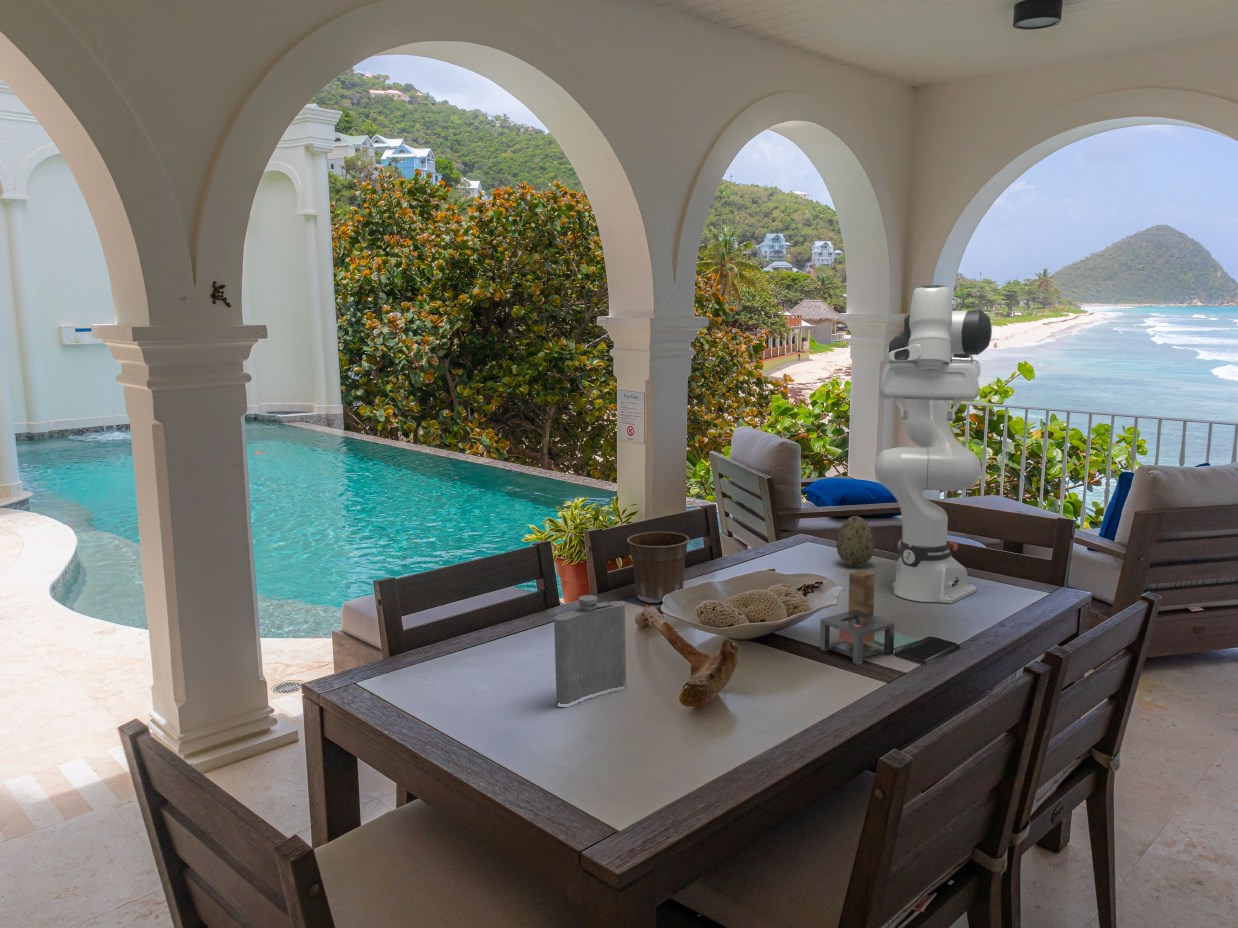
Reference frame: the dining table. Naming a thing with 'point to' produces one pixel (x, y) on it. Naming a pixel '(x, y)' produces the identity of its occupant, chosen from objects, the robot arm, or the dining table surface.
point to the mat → (895, 640)
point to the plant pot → (658, 562)
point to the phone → (927, 650)
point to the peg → (861, 593)
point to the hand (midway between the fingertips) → (927, 419)
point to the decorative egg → (855, 542)
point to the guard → (857, 634)
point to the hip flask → (589, 649)
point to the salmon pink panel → (849, 637)
